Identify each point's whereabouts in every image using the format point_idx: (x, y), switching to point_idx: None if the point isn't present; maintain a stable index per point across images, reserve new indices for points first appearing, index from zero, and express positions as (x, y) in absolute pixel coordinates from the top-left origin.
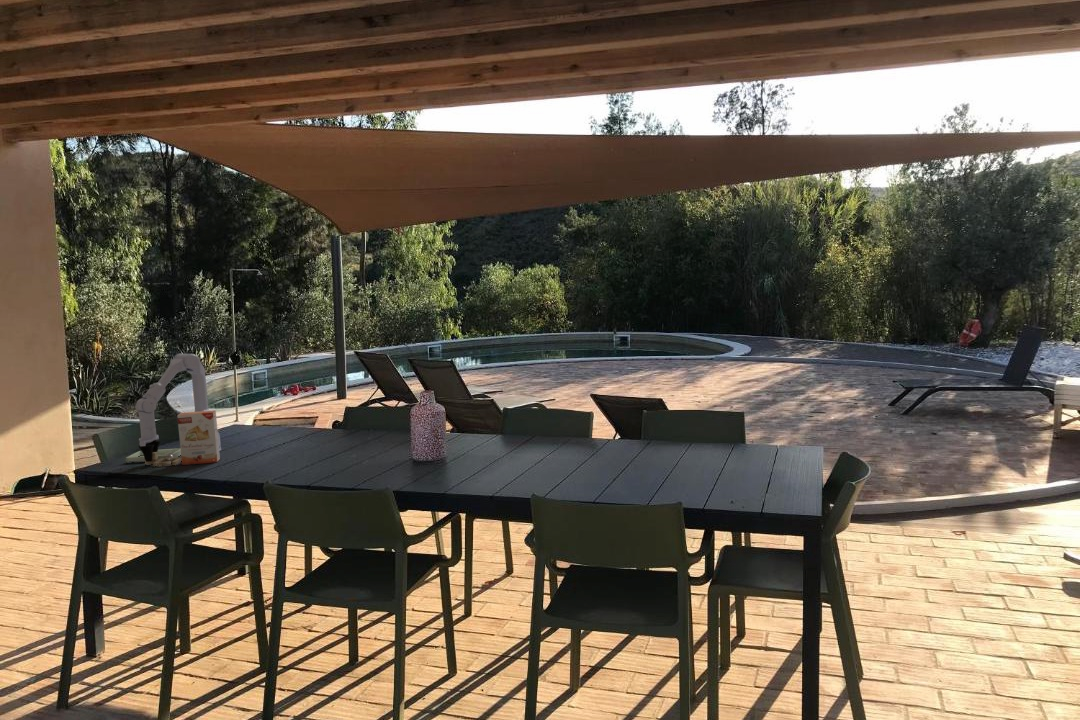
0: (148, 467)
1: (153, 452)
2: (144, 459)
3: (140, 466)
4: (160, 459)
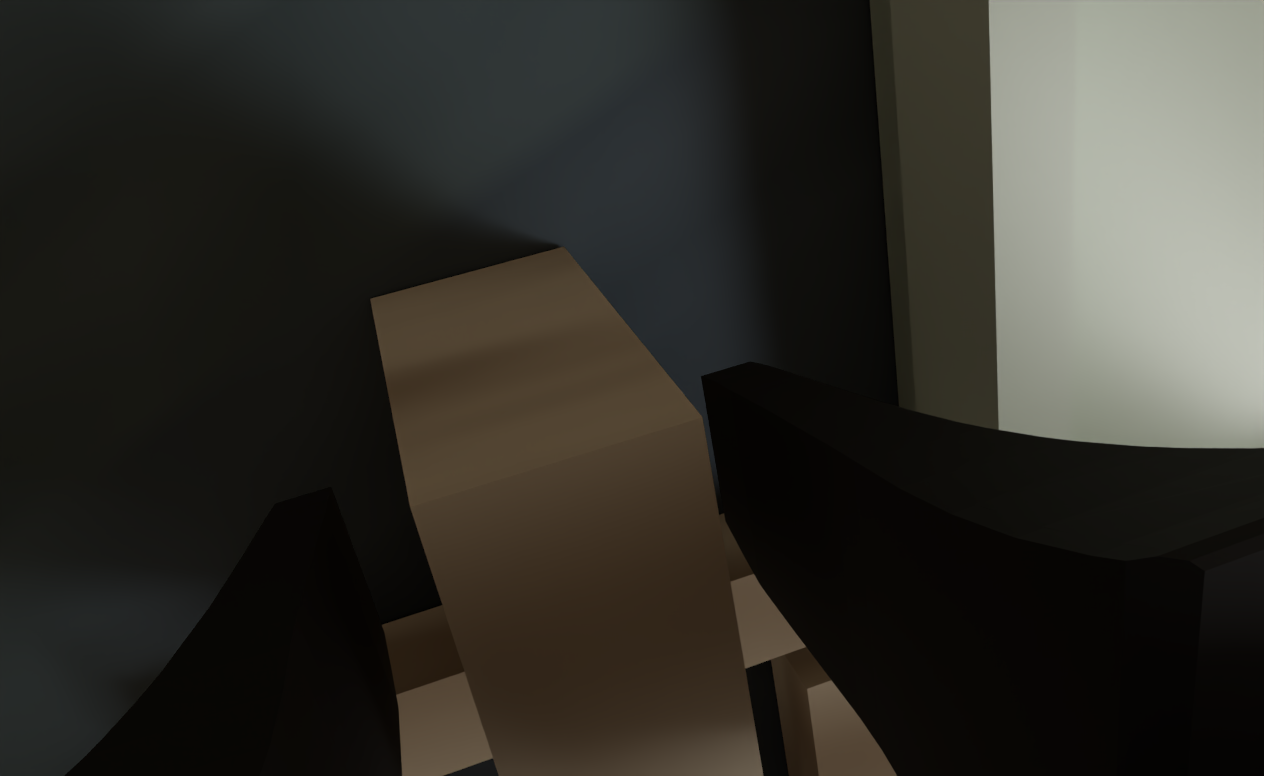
0: (140, 584)
1: (662, 751)
2: (390, 383)
3: (270, 180)
4: (750, 606)
